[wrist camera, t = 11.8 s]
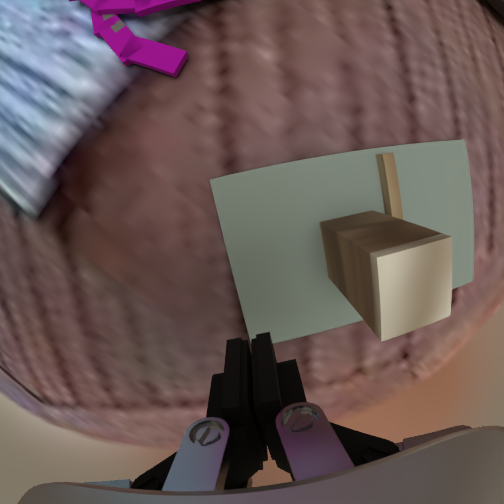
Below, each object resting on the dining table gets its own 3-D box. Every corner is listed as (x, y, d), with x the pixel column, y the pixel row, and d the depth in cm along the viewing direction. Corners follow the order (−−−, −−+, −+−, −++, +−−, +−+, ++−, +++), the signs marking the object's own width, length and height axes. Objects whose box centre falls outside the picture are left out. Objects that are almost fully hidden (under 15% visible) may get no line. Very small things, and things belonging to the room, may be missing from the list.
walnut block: (328, 277, 23) (381, 341, 14) (319, 221, 22) (376, 257, 13) (378, 264, 23) (450, 315, 14) (372, 210, 22) (451, 236, 13)
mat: (252, 344, 25) (252, 347, 25) (210, 179, 22) (209, 179, 21) (469, 279, 25) (473, 281, 24) (461, 139, 21) (464, 139, 21)
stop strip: (392, 305, 24) (398, 311, 23) (375, 154, 21) (382, 153, 20) (401, 302, 24) (407, 308, 23) (386, 153, 21) (393, 152, 20)
